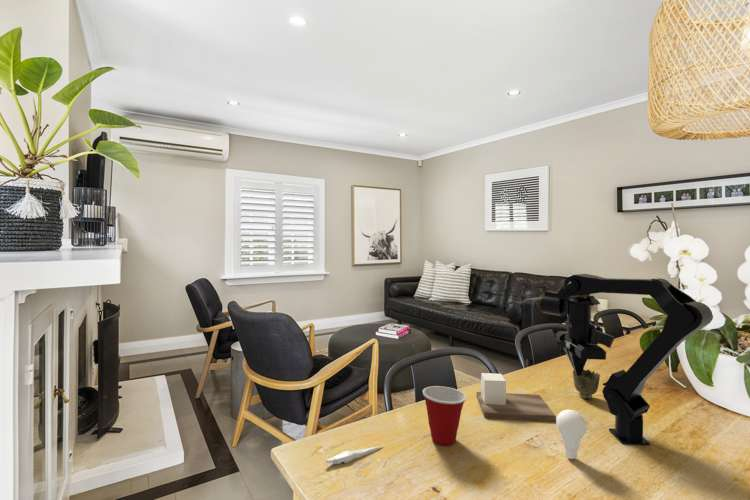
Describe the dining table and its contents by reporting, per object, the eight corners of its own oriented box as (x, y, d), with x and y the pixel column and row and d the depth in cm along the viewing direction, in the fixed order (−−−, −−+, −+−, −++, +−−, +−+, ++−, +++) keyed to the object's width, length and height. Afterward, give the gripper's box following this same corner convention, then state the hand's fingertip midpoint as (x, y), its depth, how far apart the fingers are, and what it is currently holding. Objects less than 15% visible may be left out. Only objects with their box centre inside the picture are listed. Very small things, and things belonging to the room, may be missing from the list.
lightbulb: (559, 448, 89) (560, 402, 89) (588, 457, 85) (589, 409, 85) (552, 459, 85) (553, 411, 84) (583, 470, 81) (583, 420, 80)
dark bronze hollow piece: (592, 393, 121) (593, 368, 121) (604, 403, 114) (604, 377, 114) (568, 392, 122) (568, 368, 122) (578, 402, 114) (578, 376, 114)
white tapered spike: (327, 470, 81) (328, 461, 81) (323, 464, 83) (323, 455, 83) (386, 453, 89) (386, 445, 89) (380, 448, 91) (380, 440, 91)
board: (555, 421, 103) (555, 415, 103) (484, 417, 105) (484, 412, 105) (539, 399, 116) (539, 394, 116) (476, 396, 119) (476, 392, 119)
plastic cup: (476, 443, 91) (476, 394, 91) (442, 457, 86) (443, 405, 85) (445, 424, 101) (445, 380, 100) (413, 436, 95) (413, 389, 95)
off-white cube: (505, 404, 109) (505, 381, 109) (484, 403, 110) (484, 380, 110) (501, 396, 115) (501, 373, 115) (481, 395, 116) (481, 373, 116)
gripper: (629, 327, 94) (627, 389, 94) (594, 313, 112) (593, 364, 113) (582, 326, 95) (581, 387, 96) (555, 312, 114) (554, 363, 114)
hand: (578, 374), depth 104 cm, fingers closed
